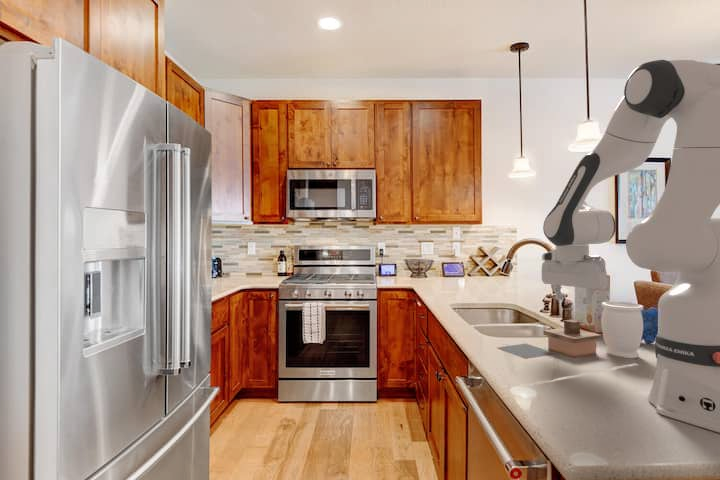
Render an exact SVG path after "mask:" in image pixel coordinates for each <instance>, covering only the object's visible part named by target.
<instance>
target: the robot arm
mask: <svg viewBox="0 0 720 480" xmlns="http://www.w3.org/2000/svg"><path fill="white" fill-rule="evenodd" d="M623 93H624V94H623V96H622V98H621V100H620V102H618V105H617V106H616V108H615V109H614V112H613V113H612V116H611V117H610V119H609V121H608V124H607V126H606V129H605V131H604V134H603V136H602V137H601V139H600V141H599V142H598V143H597V145H595V147H594V148H593V149H592V150H591V151H590V152H589V153H588V154H585V155H584V156H583V157H582V158H581V160H580V161H579V162H578V164H577V165H576V167H575V169H574V171H573V173H572V174H571V176H570V178H569V179H568V182H567V184H566V185H565V187H564V189H563V191H562V192H561V195H560V197H559V198H558V200H557V202H556V203H555V205H554V206H553V208H552V209H551V210H550V212H549V213H548V214H547V216H546V217H545V219H544V222H543V224H542V225H543V227H542V229H543V233H544V236H545V237H546V238H547V240H548V241H549V242H550V243H551V244H553V245H554V246H555V249H552V250H550V251H547V252H545V253H543V254H542V255H541V260H542V261H543V262H542V263H541V282H543V284H544V285H551V286H552V287H551V289H552V290H553V292H554V294H555V300H558V301H563V300H565V297H564V296H565V294H564V293H562V291H561V288H562V287H564V286H565V287H573V288H575V287H581V288H586V292H587V295H586V297H583V303H584V304H591V303H592V297H593V295H594V293H595V289H605V288H606V287H607V286H608V280H607V275H608V273H607V269H606V261H605V259H604V258H602V257H601V256H600V255H590V245H598V244H599V245H600V244H605V243H608V242H609V241H611V240H612V238H613V237H614V236H615V234H616V226H617V225H616V220H615V217H614V215H613V214H611V212H609V211H608V210H604V209H601V208H596V207H593V206H591V205H589V204H588V203H587V201H586V199H587V197H588V195H589V193H590V192H591V190H592V189H593V188H594V187H596V185H597V184H599V183H601V182H602V181H605V180H608V179H609V178H612V177H615V176H617V175H620V174H624V173H628V172H630V171H633V170H634V169H637V168H639V167H640V166H642V165H643V164H644V163H645V161H647V159H648V158H649V157H650V155H651V154H652V151H653V150H654V148H655V146H656V143H657V141H658V139H659V137H660V134H661V131H662V129H663V127H664V125H665V124H666V122H667V121H668V120H669V119H672V120H674V122H675V123H676V133H675V138H674V144H673V148H672V149H673V151H672V156H671V162H670V167H669V171H668V178H667V181H666V186H665V188H664V191H663V192H662V195H661V197H660V198H659V200H658V202H657V204H656V205H655V207H654V208H653V209H652V210H651V212H650V213H649V214H647V217H645V218H644V219H642V221H640V222H638V223H637V224H635V225H634V226H633V227H632V228H631V229H630V231H629V233H628V234H627V237H626V240H625V241H626V242H625V248H626V253H627V257H628V258H629V259H630V260H631V262H632V263H633V264H634V265H635V266H637V267H638V268H641V269H646V270H650V271H655V272H661V273H678V276H677V278H676V280H675V283H674V284H673V286H672V287H670V288H669V289H668V290H667V291H665V292H664V293H663V294H662V295H661V296H660V297H659V299H658V302H657V309H658V334H657V335H656V338H655V341H654V343H655V345H654V347H655V348H654V349H655V350H654V353H655V358H656V363H655V364H656V365H655V373H654V376H653V377H654V378H653V382H652V385H651V388H650V389H651V390H650V392H649V394H648V399H647V400H648V401H649V402H650V404H652V405H653V406H654V407H655V409H656V412H657V413H658V414H660V415H663V416H664V417H667V418H671V419H675V420H678V421H681V422H683V423H687V424H690V425H693V426H697V427H700V428H704V429H707V430H710V431H713V432H716V433H719V434H720V218H719V217H718V218H715V217H714V218H713V214H714V213H715V211H716V210H717V209H718V207H719V206H720V63H709V62H704V61H697V60H693V59H673V60H666V59H655V60H652V61H648V62H645V63H642V64H640V65H638V66H637V67H636V68H635V69H634V70H633V71H632V72H631V73H630V74H629V76H628V78H627V79H626V83H625V86H624V91H623Z"/></svg>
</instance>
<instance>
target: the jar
mask: <svg viewBox="0 0 720 480" xmlns="http://www.w3.org/2000/svg"><path fill="white" fill-rule="evenodd" d="M602 307H603V308H604V310H603V313H602V320H601V324H602V331H603V333H602V338H603V340H604V343H605V344H604V345H605V346H606V349H605V353H607V354H609V355H612V356H615V357H616V356H617V357H622V358H625V359H637V358H639V357H640V355H639V353H638V350H639V348H640V346H641V343H642V341H641V338H642V334H643V318H642V314H641V310H643V309H644V305H642V304H640V303H639V304H638V303H633V302H628V301H627V302H625V301H610V302H603V303H602Z"/></svg>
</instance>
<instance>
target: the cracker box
mask: <svg viewBox="0 0 720 480" xmlns="http://www.w3.org/2000/svg"><path fill="white" fill-rule="evenodd" d="M607 280H608V286H607V287H606V288H605V289H595V293H594V295H593V297H592V303H591V304H584V303H583V297H586V295H587V292H586V288H581V287H574V319H573V320H576V321H580V329H581V328H582V329H584V330H585V331H588V332H592V333H596V334H603V331H602V324H601V320H602V313H603V310H604V308H603V307H602V303H603V302H611V300H610V299H611V298H610V296H611V276H610V275H609V274H607Z"/></svg>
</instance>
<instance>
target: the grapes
mask: <svg viewBox="0 0 720 480" xmlns="http://www.w3.org/2000/svg"><path fill="white" fill-rule="evenodd" d="M641 314H642V318H643V334H642V338H641V342H642V341H644V342H645V343H646V344H649V345H651V344H653V343H655V339H656V335H657V334H658V307H654V306H652V307H649V308H648V309H647V310H646V309H645V308H643V310H641Z"/></svg>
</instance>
